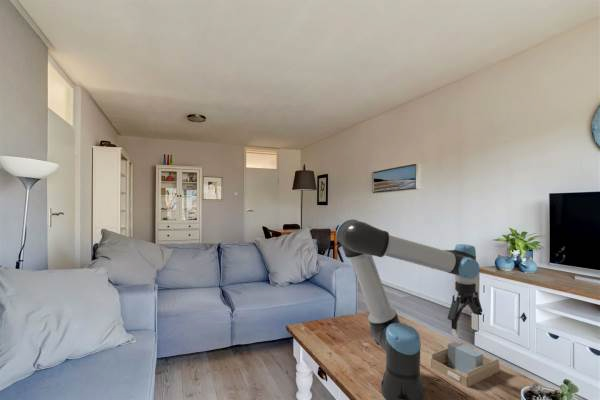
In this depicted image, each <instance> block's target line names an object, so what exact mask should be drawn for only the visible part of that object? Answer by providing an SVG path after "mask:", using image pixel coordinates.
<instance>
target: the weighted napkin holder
mask: <svg viewBox="0 0 600 400" xmlns="http://www.w3.org/2000/svg"><path fill="white" fill-rule="evenodd" d="M447 348H448V362H447V365H448V366H450V368H451V367H452V368H453V369H454V370H458V371H459V372H462V373H463V374H465V375H467V372H468V371H471V370H473V369H475V368H477V367H479V366H482V365H483V356H484V353H482V352H479V351H477V350H475V349H472V348H471V347H469V346H465V345H464V344H463V345H461V344H460V342H457V341H453V342H451V343H448V344H447Z"/></svg>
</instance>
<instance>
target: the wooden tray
mask: <svg viewBox="0 0 600 400" xmlns="http://www.w3.org/2000/svg"><path fill="white" fill-rule="evenodd" d="M459 344H461V345H464V344H463V342H459ZM499 360H500V359H499V358H496V359H491V358H489V357H486V356H484V355H483V365H482V366H479V367H477V368H475V369H473V370H471V371H468V372H467V374H466V376H465V375H464V374H462V373H460V372H458V371H456V370H455V369H452V368H451V367H448V366H447V365H445V364H446V363H448V347H446V348H444V349H441V350H437V351H435V352H432V353H431V358H430V369H432V370H434V371H436V372H439V373H440V374H442V375H444V376H445V377H447V378H449V379H451V380H453V381H455V382H457V383H459V384H460V385H462V386H464V387H466V388H469V387H470V386H473V385H475V384H477V383H478V382H481V381H484V380H485V379H487V378H489V377H491V376H494V375H495V373H496V374H498V373H500V363H499ZM497 372H498V373H497ZM493 374H494V375H493Z"/></svg>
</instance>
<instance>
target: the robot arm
mask: <svg viewBox="0 0 600 400" xmlns="http://www.w3.org/2000/svg"><path fill="white" fill-rule="evenodd" d="M336 239H337V241H338V243H339V244H340V245H341V247H342V251H343V252H344V256H345V258H346V259H349V260H350V261H351V264H352V266H353V269H354V272H355V275H356V278H357V281H358V284H359V286H360V289H361V291H362V294H363V298H364V300H365V303H366V306H367V308H368V311H369V315H368V317H367V319H368V322H369V330H370V334H371V335H372V337H373V339H374V341H375V340H376V341H377V342H378V343H377V344H379V345H380V347H381V349H382V350H383V351H384V353H385V371H384V374H383V377H382V380H381V382H380V383H381V384H380V393H381V396H383V397H384V399H385V400H426V390H425V388H424V386H423V382H422V379H421V378H422V377H421V346H422V345H421V337H420V333H419V332H418V330H416V328H415V327H413V326H411V325H408V324H406V323H403V322H401V321H400V318H399V316H398V313H397V310H396V309H395V308H393V307H392V306H391V304H390V302H389V299H388V296H387V294H386V290H385V289H384V288H385V287H384V284H383V283H382V280H381V277H380V274H379V272H378V269H377V265H376V263H375V260H374V258H373V256H374V257H379V258H384V257H389V258H393V259H397V260H400V261H403V262H407V263H410V264H415V265H418V266H422V267H426V268H430V269H432V270H437V271H440V272H445V273H448V274H452V275H455V276H454V279H455V282H454V283H455V284H454V285H455V286H454V287H455V291H456V292H457V295H455V294H453V295H452V301H451V304H450V309H449V311H448V315H447V320H450V321H451V336H452V337H453V338H454V337H455V338H456V339H460V321H459V319H460V317H461V314H462V311H464V308H466V306H469V309H470V310H471V311H472V313H471V329H472V330H474V331H477V332H479V330H480V316H482V315H483V314H482V313H483V308H482V305H481V302H480V299H479V293H478V291H477V284H476V281H477V280H476V279H477V277H478V275H479V273H480V264H479V262H478V261H477V253H476V247H475V246H474V245H471V244H462V243H461V244H460V243H459V244H455V246H454V249H440V248H437V247H434V246H433V247H432V246H430V245H425V244H422V243H418V242H415V241H411V240H408V239H405V238H402V237H401V238H400V237H399V236H398V237H397V236H393V235H390V233H389V231H386V230H383V229H380V228H377V227H375V226H374V225H373V226H372V225H371V224H369V223H367V222H363V221H359V220H357V219H347V220H344V221H343V222H341V223H340V224H339V225H338V227H337V229H336Z"/></svg>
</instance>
